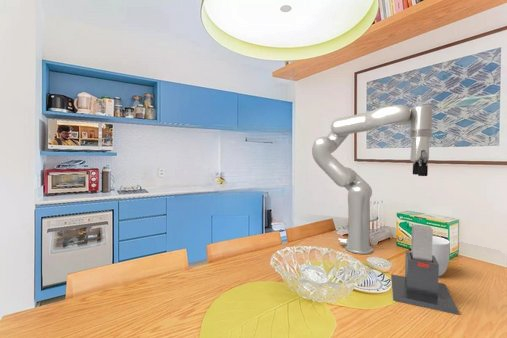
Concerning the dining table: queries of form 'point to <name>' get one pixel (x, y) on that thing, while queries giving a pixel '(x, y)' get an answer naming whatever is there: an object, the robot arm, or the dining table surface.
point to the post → (421, 243)
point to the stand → (422, 286)
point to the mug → (441, 253)
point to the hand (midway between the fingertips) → (419, 175)
